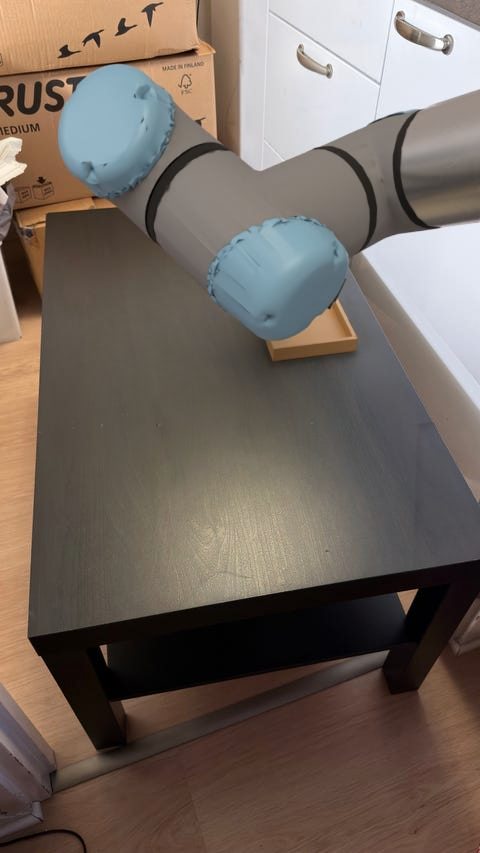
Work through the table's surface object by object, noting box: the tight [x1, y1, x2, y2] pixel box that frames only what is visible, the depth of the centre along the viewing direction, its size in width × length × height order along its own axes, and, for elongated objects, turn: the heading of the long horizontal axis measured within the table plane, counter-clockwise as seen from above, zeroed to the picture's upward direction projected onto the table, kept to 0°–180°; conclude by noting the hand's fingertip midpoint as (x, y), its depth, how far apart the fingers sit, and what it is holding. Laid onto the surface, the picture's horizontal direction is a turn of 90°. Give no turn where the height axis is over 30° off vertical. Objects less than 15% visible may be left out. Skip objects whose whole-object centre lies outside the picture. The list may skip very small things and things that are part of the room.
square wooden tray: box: [264, 297, 359, 362], centre depth 91 cm, size 12×12×2 cm
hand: (298, 283), depth 72 cm, fingers closed on cup, 8 cm apart
